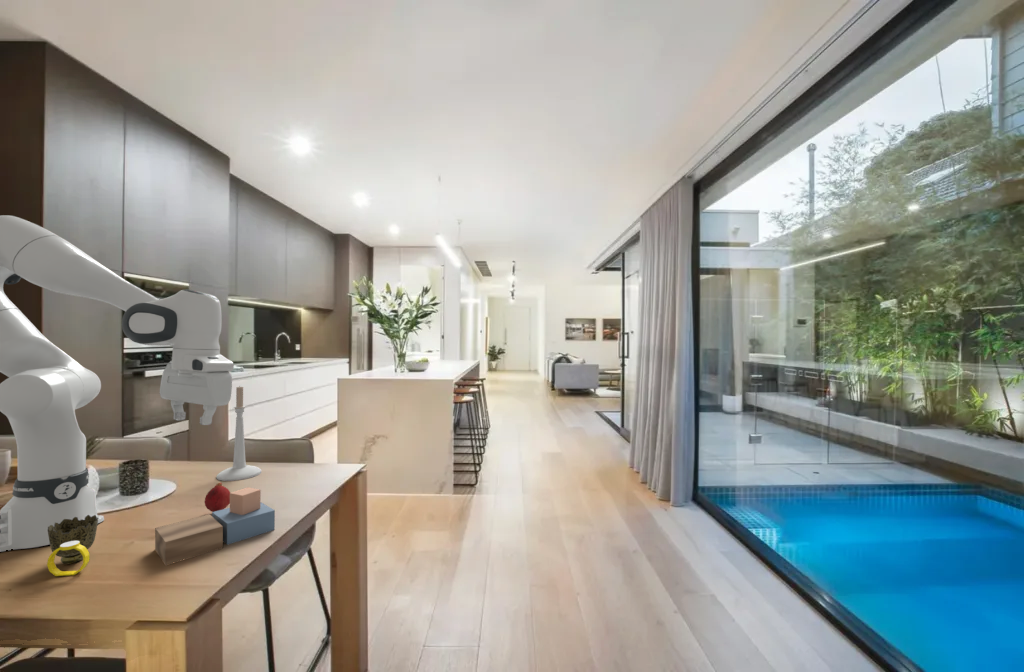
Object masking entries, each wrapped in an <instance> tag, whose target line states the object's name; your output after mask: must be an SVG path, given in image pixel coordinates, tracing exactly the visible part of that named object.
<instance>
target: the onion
mask: <svg viewBox="0 0 1024 672" xmlns="http://www.w3.org/2000/svg"><path fill="white" fill-rule="evenodd" d="M230 493H231V491H230V489H229V488H227V487H225V486H224V485H223V484H222V482H220V481H219V482H217V483H216V484H215V485H214V487H212V488H210V490H209V491H208V492H207V493H206V495H205V497H204V506H205V508H206V509H207V510H208V511H210V512H211V513H212V512H215V511H219V510H223V509H226V508H228V506H230Z"/></svg>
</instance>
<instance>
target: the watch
mask: <svg viewBox="0 0 1024 672" xmlns="http://www.w3.org/2000/svg"><path fill="white" fill-rule="evenodd" d="M70 549H76V550H78V551H80V553H81V554H82V556H83V559H82V562H83V563H82V565H81V566H80V568H79V569H77V570H66V571H64V570H60V568H58V567H57V566H56V563H55V559H56V554H57V552H58V551H59V550H70ZM89 562H90V552H89V549H88V550H87V548H86V547H85V546H83V545H81V544H80V541H69V542H66V543H63V544H61V545H60V547H59V548H58V549H56V550H55V551H53V552H51V554H50V555H49V556H48V558H47V562H46V563H47V564H46V566H47V569H48V571H49V573H50V574H52V575H53V576H55V577H65V576H76V575H77V574H78V573H80V572H81V571H82V570H84V569H85V568H86V567H87V565H88V564H89Z"/></svg>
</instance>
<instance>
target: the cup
mask: <svg viewBox="0 0 1024 672" xmlns="http://www.w3.org/2000/svg"><path fill="white" fill-rule="evenodd" d="M98 524H99V523H98V518H97V517H96V515H94V516H92V517H91V516H90V515H87V516H86V517H85V520H83V519H82V520H78V517H74V518H73V519H72V520H71V519H64V520H63V521H62V522H61V523H60V524H58V523H55V524H54V526H53V525H50V526H48V536H49V542H50V544H49V546H50V550H51V553H53V551H55V550H56V549H58V548H59V547H60V545H61V544H63V543H66V542H69V541H80V544H81V545H83V546H85V547H86V548H87V550H88V551H89V549H90V548H91V547H92V546H93V544H94V543H95V539H96V535H97V530H98ZM55 557H59V558H60V562H61V564H63V565H69V564H71V565H72V564H74V563H77V562H79V561H81V560H82V561H83V556H82V554H81V553H80V551H78V550H76V549H70V550H59V551H58V552H57V554H56V555H55Z"/></svg>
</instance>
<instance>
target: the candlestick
mask: <svg viewBox="0 0 1024 672" xmlns="http://www.w3.org/2000/svg"><path fill="white" fill-rule="evenodd" d="M235 393H236V395H235V396H236V397H235V398H236V399H235V406H233V409H234V413H236V418H235V429H234V430H235V432H234V434H235V435H234V445H233V446H234V449H233V461H232V466H231V467H228V468H226V469H223V470H222V471H220V472H219V473H218V474H217V475H216V480H218V481H223V482H224V481H225V482H228V481H229V482H231V481H241V480H247V479H251V478H254V477H257V476H258V475H261V474H262V469H261V468H260V467H258V466H255V465H249V464H247V463H246V448H245V431H244V430H245V428H244V416H243V414H244V413H245V408H247V407H246V405H244V387H243V386H241V385H239V386H237V387H236V390H235Z"/></svg>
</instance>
